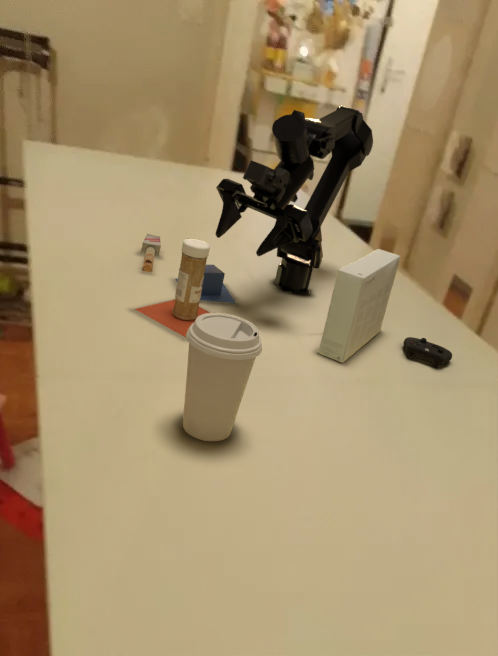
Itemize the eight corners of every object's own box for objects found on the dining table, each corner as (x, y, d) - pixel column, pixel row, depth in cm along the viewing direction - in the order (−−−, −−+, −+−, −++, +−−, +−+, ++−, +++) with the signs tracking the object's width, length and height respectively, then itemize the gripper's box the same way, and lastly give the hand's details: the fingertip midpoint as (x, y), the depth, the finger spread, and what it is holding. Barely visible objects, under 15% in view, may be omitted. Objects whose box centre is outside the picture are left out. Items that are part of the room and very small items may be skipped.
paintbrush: (163, 230, 150) (157, 264, 133) (161, 242, 151) (155, 277, 135) (146, 227, 149) (137, 260, 132) (144, 238, 150) (136, 273, 134)
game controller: (452, 355, 131) (457, 343, 126) (443, 379, 130) (448, 368, 124) (405, 339, 133) (408, 325, 127) (395, 362, 132) (398, 350, 126)
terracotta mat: (181, 299, 126) (182, 297, 126) (230, 325, 122) (230, 323, 121) (134, 310, 117) (134, 308, 117) (184, 339, 112) (185, 336, 112)
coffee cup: (213, 457, 85) (236, 351, 78) (155, 424, 88) (172, 319, 81) (255, 431, 92) (279, 332, 85) (201, 401, 96) (220, 304, 89)
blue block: (209, 285, 135) (213, 264, 133) (220, 295, 132) (224, 273, 130) (189, 286, 132) (193, 264, 130) (200, 295, 129) (204, 273, 127)
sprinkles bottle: (198, 322, 118) (211, 249, 112) (172, 319, 117) (184, 244, 110) (195, 312, 122) (208, 240, 115) (170, 308, 121) (182, 235, 114)
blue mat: (222, 285, 138) (223, 283, 138) (235, 305, 130) (236, 303, 130) (174, 280, 134) (175, 278, 134) (185, 300, 126) (185, 298, 126)
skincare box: (355, 322, 137) (378, 247, 130) (380, 332, 136) (404, 256, 128) (314, 352, 120) (337, 267, 112) (342, 364, 118) (367, 278, 111)
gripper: (233, 130, 118) (180, 197, 114) (320, 162, 110) (266, 234, 107) (251, 175, 127) (202, 237, 124) (332, 207, 120) (283, 274, 117)
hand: (236, 245), depth 118 cm, fingers open, 9 cm apart
